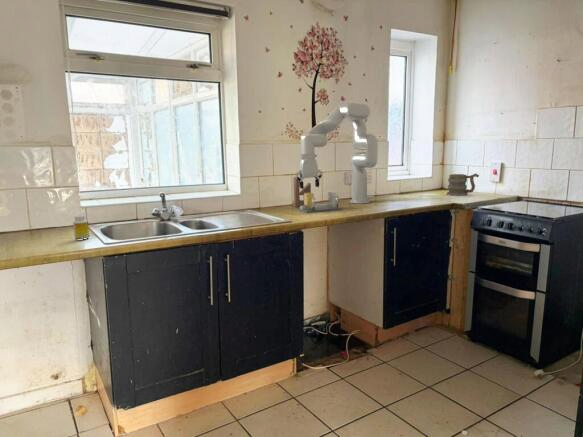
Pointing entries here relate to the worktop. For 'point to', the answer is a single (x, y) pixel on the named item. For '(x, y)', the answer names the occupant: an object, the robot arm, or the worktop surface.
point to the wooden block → (306, 189)
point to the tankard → (460, 184)
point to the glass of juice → (80, 227)
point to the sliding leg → (309, 200)
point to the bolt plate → (319, 209)
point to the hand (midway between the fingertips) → (309, 187)
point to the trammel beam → (331, 201)
